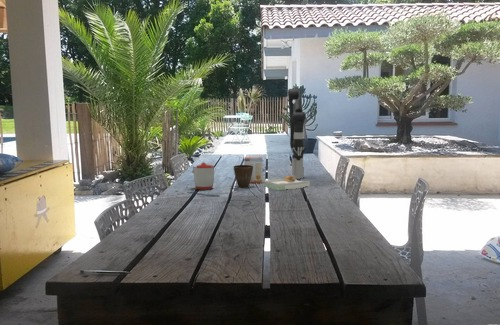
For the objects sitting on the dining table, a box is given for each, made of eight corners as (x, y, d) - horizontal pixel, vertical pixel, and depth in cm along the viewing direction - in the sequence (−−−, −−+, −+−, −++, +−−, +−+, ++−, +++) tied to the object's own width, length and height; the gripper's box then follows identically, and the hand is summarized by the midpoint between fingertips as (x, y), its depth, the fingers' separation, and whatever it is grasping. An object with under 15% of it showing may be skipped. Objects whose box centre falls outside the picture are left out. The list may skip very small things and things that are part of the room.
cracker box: (262, 182, 390) (262, 156, 388) (261, 183, 384) (261, 157, 382) (245, 181, 392) (245, 156, 389) (244, 183, 386) (244, 157, 383)
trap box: (294, 183, 383) (294, 177, 383) (309, 187, 366) (309, 181, 366) (264, 186, 370) (264, 180, 369) (278, 190, 352) (278, 184, 352)
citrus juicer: (197, 186, 372) (196, 160, 370) (217, 187, 366) (217, 161, 364) (187, 189, 357) (187, 162, 355) (209, 191, 352) (208, 163, 349)
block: (291, 180, 378) (291, 175, 378) (294, 181, 374) (294, 176, 374) (284, 181, 375) (284, 176, 375) (288, 182, 371) (288, 176, 371)
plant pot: (251, 189, 359) (251, 167, 357) (231, 188, 362) (231, 167, 360) (254, 185, 373) (254, 165, 371) (236, 185, 376) (236, 164, 374)
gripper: (302, 137, 381) (302, 159, 383) (288, 138, 375) (288, 160, 377) (308, 138, 375) (308, 160, 377) (294, 138, 368) (294, 161, 370)
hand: (298, 160), depth 377 cm, fingers closed
